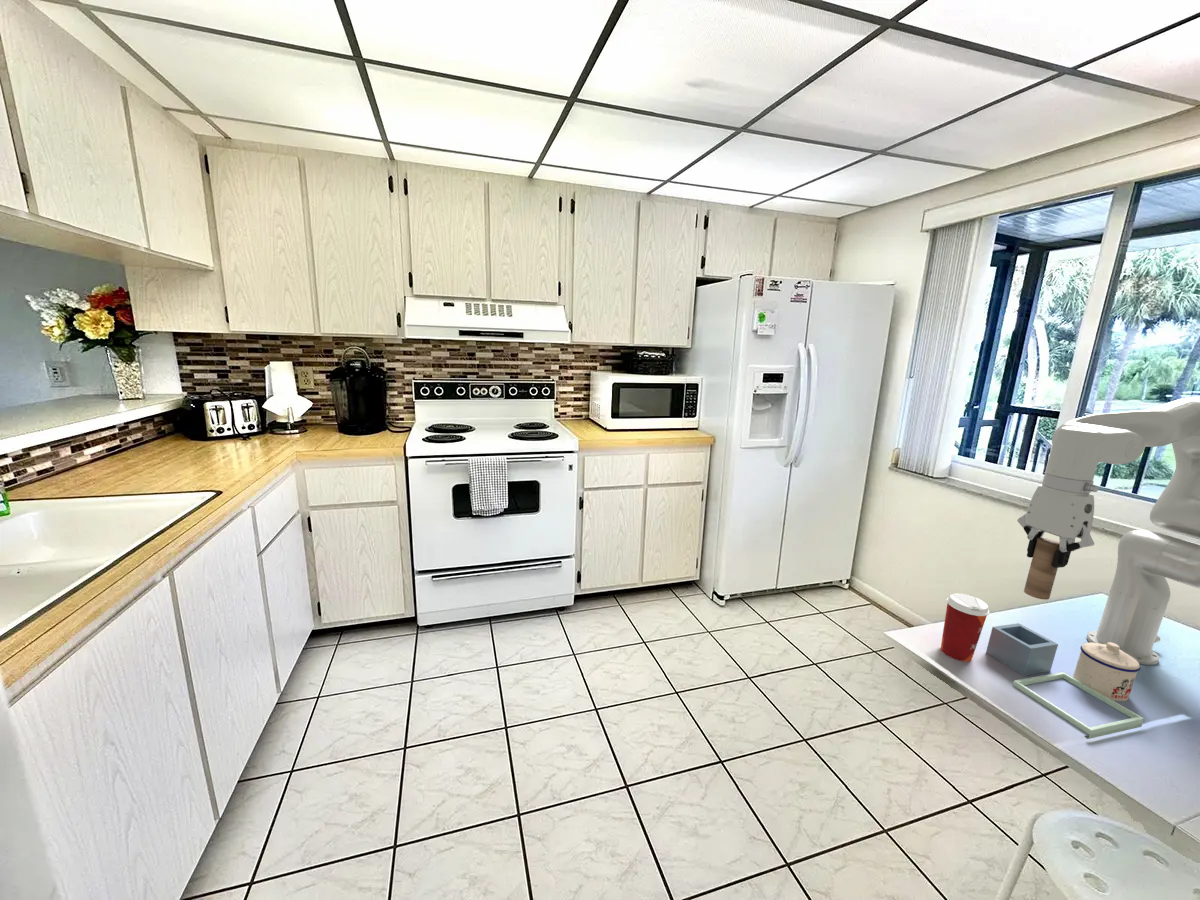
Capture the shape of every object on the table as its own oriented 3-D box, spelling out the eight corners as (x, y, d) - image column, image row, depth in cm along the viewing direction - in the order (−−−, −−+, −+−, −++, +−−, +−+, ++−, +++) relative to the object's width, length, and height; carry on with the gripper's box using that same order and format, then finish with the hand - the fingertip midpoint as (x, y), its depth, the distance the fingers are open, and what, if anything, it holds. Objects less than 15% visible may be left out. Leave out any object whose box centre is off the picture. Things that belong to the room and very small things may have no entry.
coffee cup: (984, 670, 111) (999, 612, 108) (944, 664, 112) (958, 607, 109) (964, 648, 119) (978, 594, 116) (928, 643, 120) (940, 589, 117)
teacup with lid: (1120, 711, 100) (1136, 662, 97) (1063, 683, 108) (1077, 638, 105) (1139, 693, 106) (1155, 647, 103) (1084, 668, 113) (1098, 625, 111)
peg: (1032, 588, 112) (1046, 537, 109) (1054, 598, 108) (1069, 545, 105) (1018, 590, 111) (1032, 538, 108) (1040, 600, 107) (1054, 546, 104)
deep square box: (1010, 652, 119) (1018, 623, 117) (1049, 674, 111) (1058, 644, 109) (985, 656, 116) (992, 626, 115) (1022, 679, 109) (1030, 648, 107)
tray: (1060, 679, 109) (1063, 671, 109) (1141, 726, 96) (1144, 718, 96) (1011, 688, 105) (1013, 680, 105) (1088, 738, 92) (1091, 730, 92)
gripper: (1128, 495, 97) (1103, 578, 101) (1036, 473, 112) (1017, 545, 117) (1102, 497, 95) (1077, 581, 99) (1012, 474, 111) (994, 547, 115)
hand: (1045, 560), depth 108 cm, fingers closed on peg, 4 cm apart
